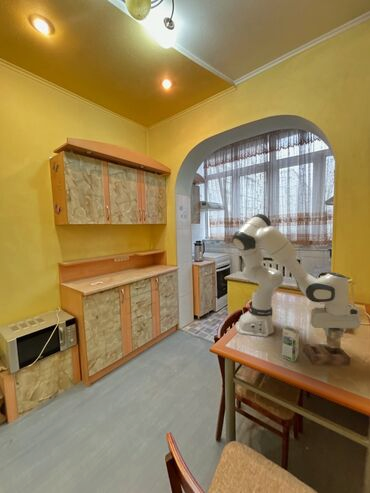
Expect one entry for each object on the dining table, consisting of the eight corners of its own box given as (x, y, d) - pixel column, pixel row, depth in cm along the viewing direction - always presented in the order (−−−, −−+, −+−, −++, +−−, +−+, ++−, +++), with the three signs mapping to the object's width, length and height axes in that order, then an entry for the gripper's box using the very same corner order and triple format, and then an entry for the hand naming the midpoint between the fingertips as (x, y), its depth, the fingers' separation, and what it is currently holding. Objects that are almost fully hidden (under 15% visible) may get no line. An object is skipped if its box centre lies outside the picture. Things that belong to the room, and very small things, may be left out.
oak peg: (331, 347, 102) (331, 329, 100) (326, 342, 106) (327, 325, 104) (340, 348, 101) (341, 329, 100) (335, 342, 105) (336, 325, 104)
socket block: (312, 364, 101) (312, 356, 100) (302, 351, 110) (303, 343, 110) (349, 365, 99) (350, 357, 98) (336, 351, 109) (337, 344, 108)
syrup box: (281, 357, 106) (282, 329, 104) (286, 351, 110) (287, 324, 108) (294, 362, 102) (295, 333, 100) (298, 356, 106) (299, 328, 104)
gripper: (314, 310, 99) (313, 339, 101) (364, 310, 96) (361, 340, 98) (308, 304, 105) (307, 332, 107) (354, 305, 103) (352, 332, 105)
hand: (333, 335), depth 103 cm, fingers closed on oak peg, 4 cm apart
